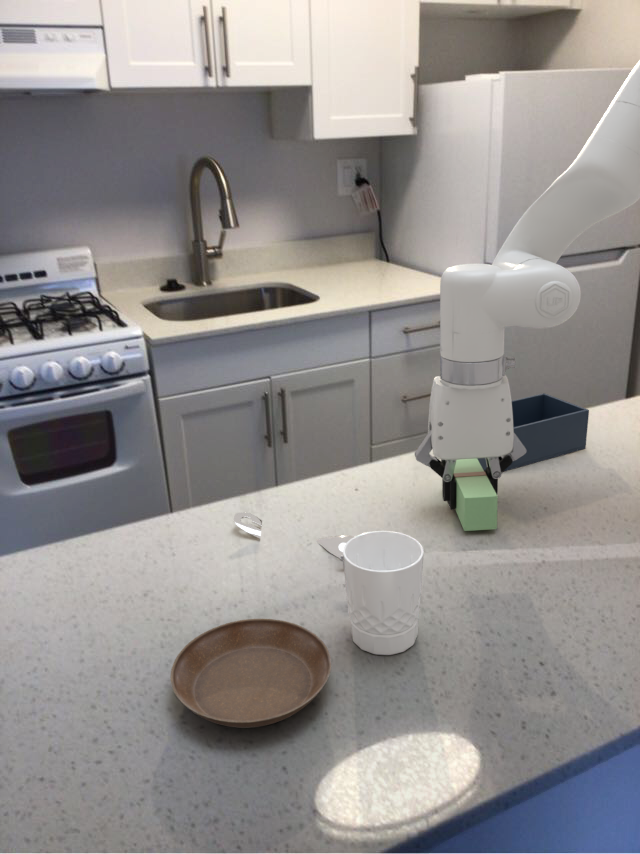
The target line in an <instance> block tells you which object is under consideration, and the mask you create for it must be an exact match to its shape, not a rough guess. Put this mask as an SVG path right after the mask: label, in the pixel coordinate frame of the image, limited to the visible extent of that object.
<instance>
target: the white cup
mask: <svg viewBox="0 0 640 854" xmlns="http://www.w3.org/2000/svg"><path fill="white" fill-rule="evenodd" d="M424 551H425V549H424V547H423V545H422V544H421V543H420V541H419V540H418V539H416V538H415V537H413V536H412V535H409V534H406V533H403V532H399V531H392V530H374V531H373V530H372V531H366V532H363V533H360V534H358V535H355V536H354V537H353V538H352V539H350V540H349V541H348V542H347V543H346V544H345V545H344V548H343V560H342V561H343V569H344V570H343V571H344V583H345V592H346V604H347V612H348V616H349V623H350V633H351V638H352V642H353V643H354V645H356V646H357V647H358V648H359V649H360V650H362V651H365V652H367V653H370V654H373V655H379V656H392V655H396V654H400V653H404V652H405V651H407V650H409V648H410V649H411V647H412V646H414V645H415V642H416V640H417V637H418V633H419V618H420V612H421V599H422V589H423V588H422V587H423V571H424V570H423V569H424V556H425V555H424V553H425V552H424Z"/></svg>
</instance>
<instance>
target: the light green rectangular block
mask: <svg viewBox="0 0 640 854" xmlns="http://www.w3.org/2000/svg"><path fill="white" fill-rule="evenodd" d="M453 475H454V479H455V480H456V484H457V487H456V508H455V510H454V511H455V512H456V515H457V517H458V520H459V522H460V524H461V526H462V530H463V531H464V532H469V531H470V532H471V531H486V530H487V531H489V530H497V529H498V502H499V501H498V500H499V499H498V498H499V495H498V493H497V494H496V492H495V490H494V488H493V487H492V485H491V483H490V481H489V479H488V477H487V475H486V473H485V471H484V470H483V468H482V466H481V465H480V463H479V461H478V459H477V458H475V459H459V460H456V464H455V469H454V473H453Z"/></svg>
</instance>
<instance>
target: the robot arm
mask: <svg viewBox="0 0 640 854" xmlns="http://www.w3.org/2000/svg"><path fill="white" fill-rule="evenodd" d="M638 201H640V59H639V60H638V61H637V62H636V64H635V66H634V67H633V68H632V70H631V71H630V73H629V74H628V76H627V78H626V79H625V81H624V82H623V84H622V85H621V87H620V88H619V90H618V91H617V92H616V95H615V96H614V98H613V99H612V100H611V103H610V104H609V106H608V107H607V109H606V111H605V112H604V113H603V115H602V117H601V119H600V121H598V123H597V125H596V126H595V128H594V130H593V131H592V133H591V135H590V136H589V138H588V139H587V140H586V142H585V144H584V145H583V147H582V149H581V150H580V152H579V153H578V154H577V156H576V158H575V159H574V160H573V161H572V163H571V164H570V166H569V167H567V169H566V170H565V171H563V172H562V174H561V175H559V176H558V177H557V178H556V179H555V180H554V181H553V182H552V183H551V185H549V187H548V188H547V189H546V190H544V192H542V194H541V195H540V196H539V197H538V198H537V199H536V200H534V201H533V202H532V203H531V205H530V206H529V207H528V208H527V209H526V210H525V211H524V213H523V214H522V215H521V217H520V218H519V220H518V221H517V222H516V223H515V225H514V227H513V228H512V230H511V231H510V233H509V234H508V235H507V237H506V239H505V240H504V242H503V244H502V245H501V247H500V248H499V250H498V252H497V253H496V256H495V257H494V259H493V260H492V263H491V264H489V263H463V264H457V265H453V266H450V267H447V268H446V269H445V270H444V271H443V272H442V274H441V277H440V282H439V283H440V284H439V305H440V307H439V323H440V324H439V354H440V355H439V359H440V360H439V363H440V364H439V375H438V376H435V377H434V378H433V380H432V385H431V390H430V398H429V408H428V421H427V422H428V423H427V434H426V435H425V437H424V439H423V440H422V441H421V443H420V444H419V446H418V447H417V448H416V450H415V451H414V458H415V460H416V461H417V462H419V463H420V464H423V465H424V466H426V467H428V468H430V469H431V470H432V471H433V472H434V473H435V474H437V475H438V476H439V477H441V479H442V480H441V486H442V487H441V488H442V489H441V490H442V491H441V495H442V501H443V502H447V504H448V508H449V510H450V511H456V510H455V508H456V487H457V484H456V480H455V479H454V475H453V473H454V469H455V464H456V460H459V459H475V458H485V459H486V464H487V468H486V470H484V471H485V473H486V475H487V477H488V479H489V481H490V483H491V485H492V487H493V488H494V490H495V492H496V494H497V495H498V489H499V488H498V487H499V479H500V478H501V477H502V474H503V473H504V472H505V471H504V470H505V469H507V468H508V467H509V466H510V465H511V464H512V462H513V461H514V460H517V459H518V458H520V457H521V456H523V455H524V454H526V452H527V450H526V448H525V447H524V445H523V444H522V443H521V441H520V440H519V439H518V437H517V436H516V434H515V433H514V432H513V413H512V394H511V393H512V392H511V388H510V382H509V379H508V376H507V375H506V373H507V370H510V369H515V368H516V365H517V364H516V361H517V360H516V357H515V356H508V355H506V354H505V329H506V328H507V327H509V328H525V329H549V328H555V327H558V326H559V325H562V324H563V323H565V322H566V321H569V320H570V318H571V317H573V316H574V314H575V313H576V311H577V310H578V308H579V306H580V303H581V297H582V291H581V286H580V283H579V281H578V279H577V278H576V276H575V275H574V274H573V273H572V272H571V271H570V270H569V269H567V268H566V267H564V266H562V265H561V264H558V261H559V260H560V258H562V256H563V254H564V252H566V250H567V249H568V248H569V247H570V245H571V244H572V243H573V242H574V241H575V240H576V239H577V238H579V237H580V236H581V234H583V233H584V232H586V231H587V230H588V229H589V228H591V227H592V226H594V225H596V224H598V223H600V222H602V221H603V220H606V219H608V218H610V217H612V216H615V215H617V214H619V213H621V212H623V211H625V210H626V209H628V208H629V207H631V206H633V205H635V203H637V202H638ZM431 451H432V454H433V455H432V454H431ZM503 471H504V472H503Z"/></svg>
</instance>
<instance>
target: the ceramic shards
mask: <svg viewBox="0 0 640 854" xmlns="http://www.w3.org/2000/svg"><path fill="white" fill-rule="evenodd" d="M242 519H249V520H250V521H251V523H252V524H251V523H244V522H243V521H242ZM233 523H234V525H235V526H236V527H237V528H239V529H240V530H242V531H243V532H244V533H247V534H248V535H251V536H253V537H255V538H258V539H261V536H262V526H263V520H262V518H260V517H258V516H257V515H254V514H253V513H250V512H245V511H244V512H241V511H240V512H236V513H235V514H234V516H233ZM253 524H255V525H257V526H258V527H257V526H255V525H253ZM260 527H261V528H260ZM353 537H355V536H354V535H349V534H339V535H333V536H327V537H320V538H319V537H318V538H316V539H315V541H316V543H317V544H318V545H319V546H321V547H323V549H325V550H326V551H327V552H328V553H330V554H331V555H333V556H335V557H337V558H339V559H341V560H342V561H344V560H343V548H344V545H345V544H346V543H347V542H348V541H349V540H350V539H352V538H353Z"/></svg>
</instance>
